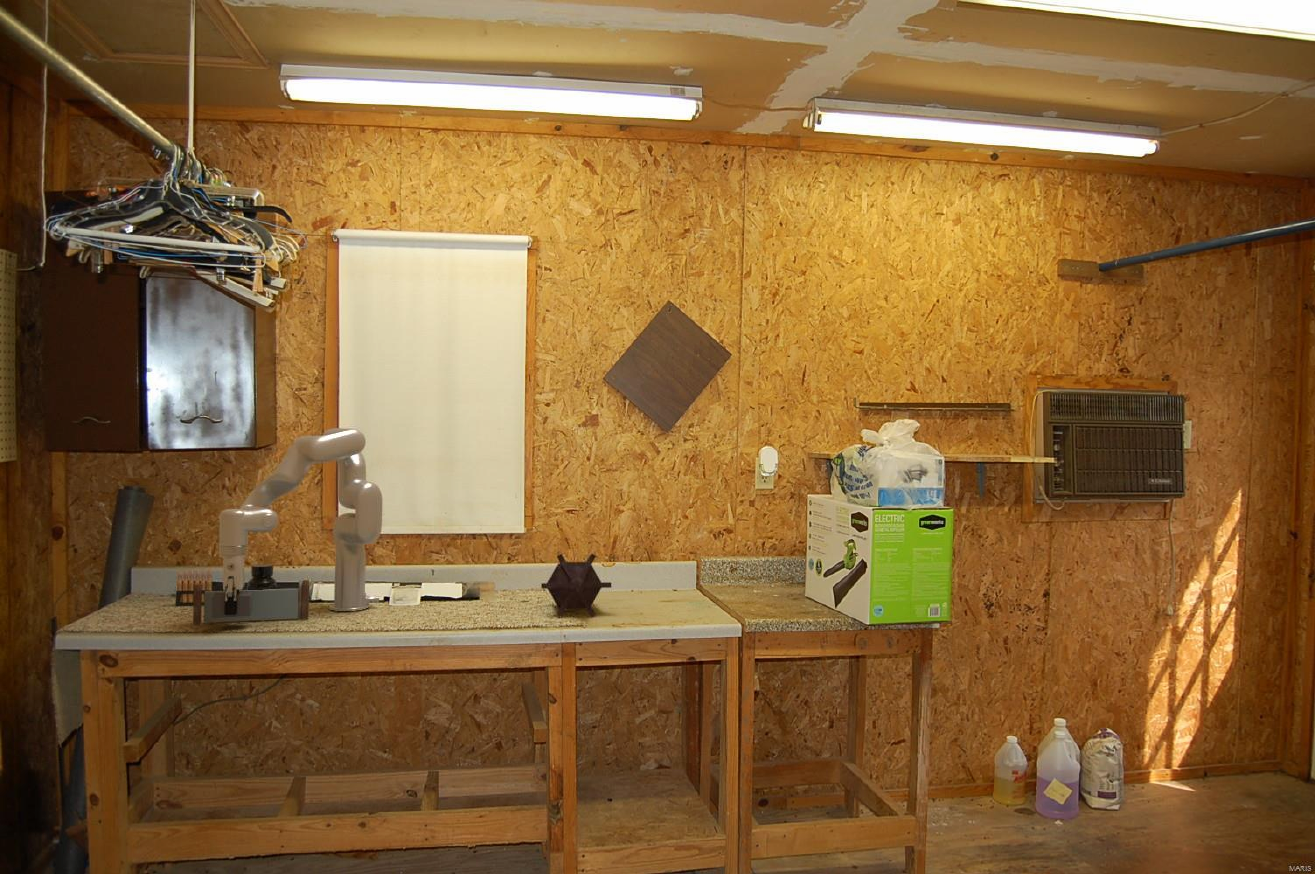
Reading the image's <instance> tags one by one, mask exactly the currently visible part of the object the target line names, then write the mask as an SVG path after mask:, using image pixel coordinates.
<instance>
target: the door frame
mask: <svg viewBox="0 0 1315 874" xmlns="http://www.w3.org/2000/svg"><path fill="white" fill-rule="evenodd" d="M298 588H299V604H298V618H297V619H302V620H301V621H305V620H304V619H308V620H309V618H310V617H309V615H310V614H309V613H310V611H309V610H310V609H309V608H310V606H309V605H310V579H302V580H301V579H300V580H299V581H298ZM201 605H202V584H195V585H194V605H193V606H192V607H193V611H192V613H193V615H192V617H193V618H192V626H193V627H194V626H195V627H196V626H200V625H201V624H202V606H201ZM308 617H309V618H308Z"/></svg>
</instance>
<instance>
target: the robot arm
mask: <svg viewBox="0 0 1315 874" xmlns="http://www.w3.org/2000/svg"><path fill="white" fill-rule="evenodd" d="M366 443H367V442H366V436H365V435H364V433H363V432H361V431H360V430H358V429H356V428H340V427H339V428H337V427H335V428H329V429H327V430H325V431H324V432H323V433H322V435H302V436H299V437H297V439H295V441H294V442H293V443H292V445H291V446H290V447H289V449H288V450H287V452H286V453H285V454H284V457H283V458H282V460H281V461H280V463H278V465H277V467H276V468H275V470H274V471H273V472H272V473H271V474H270V475H268V477H266V478H265V479H264V480H263V481H262V482H261V483H260V484H258V485H257V486H256V487H255V488H254V489H253V490H252V491H251V492H250V493H249V495H248V496H246V498H245V500H244V501H243V503H242V505H241V506H240V508H226V509H224V510H222V511H221V512H220V514H219V543H218V545H219V546H218V547H219V548H218V549H219V550H218V557H219V558H222V559H223V560H222V589H223V590H222V591H226V598H225V613H224V614H225V615H236V614H237V600H236V595H237V593H239V591H241V590H244V586H245V557H248V555H249V554H248V553H249V551H248V550H249V549H248V547H249V545H248V544H249V533H258V534H260V533H261V534H263V533H265V534H266V533H269V532H272V531H273V530H275V529H276V528H277V527H278V524H279V519H280V518H279V515H278V513H277V512H276V511H275V510H273V509H271V508H270V506H271V505H272V504H274V502H276V500H278V499H279V498H280V497H282V496H284V495H286V494H289V493H291V492H293V491H295V490H297V489H298V488H299V487H300V485H302V482H303V480H305V477H306V476H307V475H308V473H309V471H310V470H311V468H312V467H313V466H314V464H325V463H329V462H334V461H335V462H336V463H337V467H338V487H337V488H338V491H337V492H338V493H337V494H338V495H337V499H338V502H339V504H340V506H341V507H343V508H346V509H350V510H355V512H344V513H342V514H340V515H339V516H337V518H336V519H335V521H334V522H333V527H332V535H333V540H334V541H333V542H334V555H335V556H334V557H335V558H334V598H333V599H334V600H333V603H331V604H330V605H329V606H328V609H329V608H330V609H331V610H336V611H335V612H337V611H353V610H360V609H364V608H367V607H369V608H370V603H379V602H380V596H379V595H378V596H377V595H370V596H369V595H367V593H366V563H367V562H366V561H367V555H366V552H367V551H366V547H365V545H371V544H373V543H374V542H376V541H377V540H378V539H379V538H380V535H381V532H382V529H383V528H382V526H383V493H382V491H381V489H380V487H379V486H378V485H377V484H376V483H374V482H372V481H368V480H367V470H366V469H367V466H366V460H365V457H364V455H363V453H362V452H363V450H364V449H365V448H366V447H365V446H366ZM330 609H329V610H330ZM331 610H330V611H331ZM353 612H354V611H353Z"/></svg>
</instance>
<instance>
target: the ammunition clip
mask: <svg viewBox="0 0 1315 874" xmlns="http://www.w3.org/2000/svg"><path fill="white" fill-rule="evenodd" d="M194 574H195V577H194ZM200 576H201V578H200ZM206 577H207V578H206ZM195 584H202V605H201V607H204V592H205V591H213V580H212V571H211V569H210V568H208V570H207V576H206V570H205V569H204V568H203V569H202V571H201V574H200V570H199V568H197V569H196V572H195V573H194V570H193V568H192V569H190V572H189V574H188V570H187V569H185V570H184V573H182V570H181V569H179V570H178V574H177V581H176V592H175V593H176V594H175V604H174V606H175V607H193V605H194V585H195Z"/></svg>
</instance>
